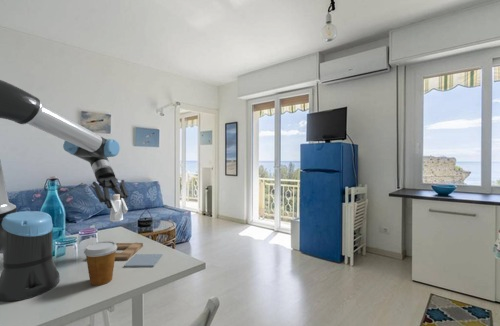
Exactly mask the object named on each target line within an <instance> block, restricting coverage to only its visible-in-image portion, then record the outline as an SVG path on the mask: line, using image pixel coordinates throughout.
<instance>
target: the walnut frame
mask: <svg viewBox="0 0 500 326" xmlns="http://www.w3.org/2000/svg"><path fill="white" fill-rule="evenodd" d="M115 243H116V245H117V249H116V251H118V250H119V251H120V250H122V251H121V252H116V253H115V261H129V260H130V259H131V258H132V257H134V256H135V255H136V254H137V252H138V251H140V249H141V248H143V246H144V243H143V242H115Z"/></svg>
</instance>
